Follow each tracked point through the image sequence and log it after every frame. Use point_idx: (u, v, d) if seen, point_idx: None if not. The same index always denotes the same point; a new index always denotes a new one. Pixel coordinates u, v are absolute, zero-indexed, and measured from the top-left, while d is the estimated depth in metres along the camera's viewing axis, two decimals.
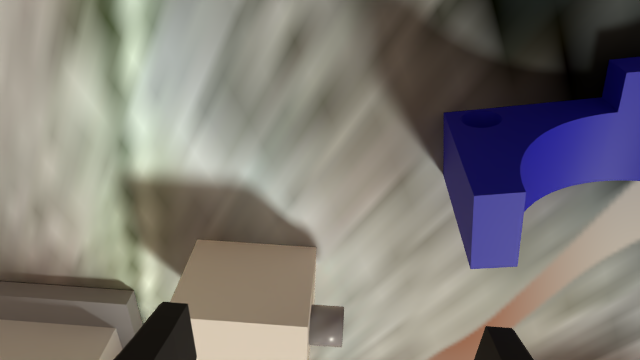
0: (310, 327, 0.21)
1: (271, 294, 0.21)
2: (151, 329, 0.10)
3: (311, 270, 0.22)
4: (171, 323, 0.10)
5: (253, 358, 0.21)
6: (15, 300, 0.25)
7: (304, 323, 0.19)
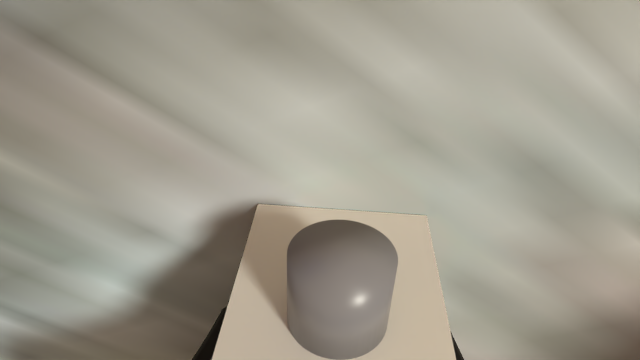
0: (298, 343, 0.08)
1: None
2: None
3: (244, 256, 0.10)
4: None
5: None
6: None
7: None
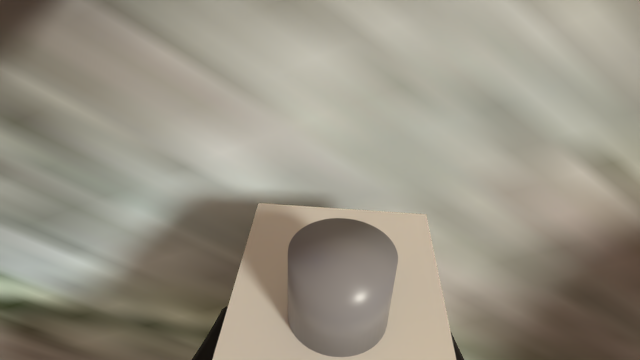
0: (299, 341, 0.08)
1: None
2: None
3: (244, 254, 0.10)
4: None
5: None
6: None
7: None
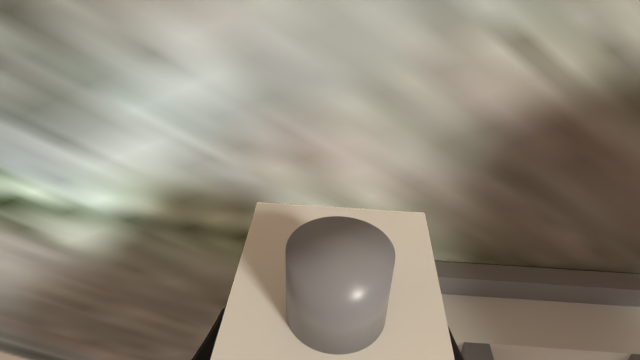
0: (297, 339, 0.08)
1: None
2: None
3: (243, 253, 0.10)
4: None
5: None
6: None
7: None
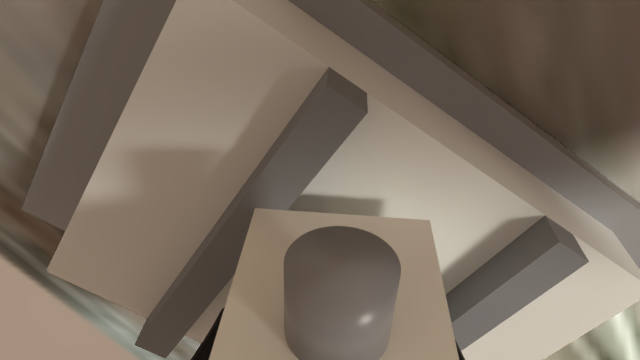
0: (295, 357, 0.07)
1: None
2: None
3: (240, 263, 0.09)
4: None
5: None
6: (82, 81, 0.13)
7: None
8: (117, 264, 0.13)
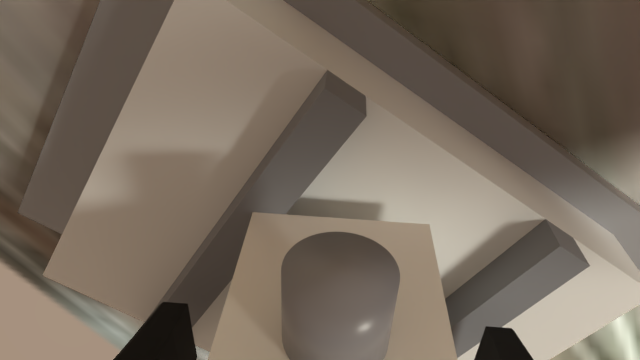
0: None
1: None
2: (151, 329, 0.10)
3: (237, 268, 0.09)
4: (171, 323, 0.10)
5: None
6: (79, 84, 0.13)
7: None
8: (114, 268, 0.13)
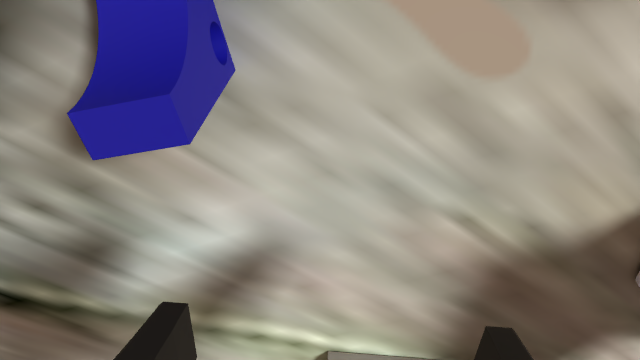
0: None
1: None
2: (151, 329, 0.10)
3: None
4: (171, 323, 0.10)
5: None
6: None
7: None
8: None
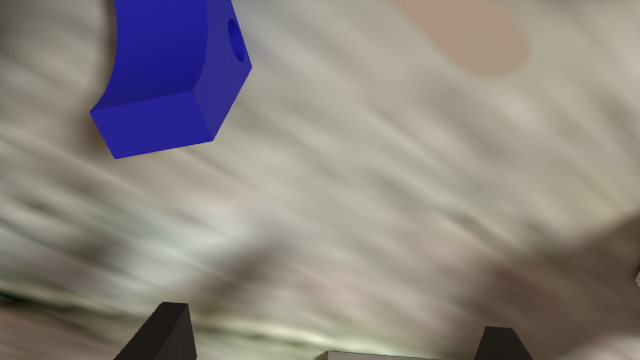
0: None
1: None
2: (151, 329, 0.10)
3: None
4: (171, 323, 0.10)
5: None
6: None
7: None
8: None
